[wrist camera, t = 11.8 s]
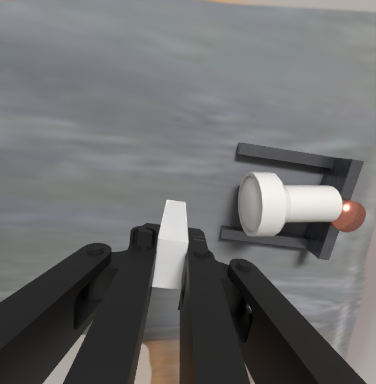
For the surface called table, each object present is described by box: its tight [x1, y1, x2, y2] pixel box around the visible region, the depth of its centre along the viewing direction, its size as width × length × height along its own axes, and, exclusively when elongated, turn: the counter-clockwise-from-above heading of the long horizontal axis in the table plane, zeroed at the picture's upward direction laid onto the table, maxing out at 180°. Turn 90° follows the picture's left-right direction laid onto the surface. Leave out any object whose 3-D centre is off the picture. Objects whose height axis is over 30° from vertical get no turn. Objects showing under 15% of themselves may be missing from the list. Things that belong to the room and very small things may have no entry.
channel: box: [220, 143, 366, 260], centre depth 28 cm, size 16×14×6 cm
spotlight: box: [238, 172, 343, 237], centre depth 26 cm, size 8×11×8 cm
